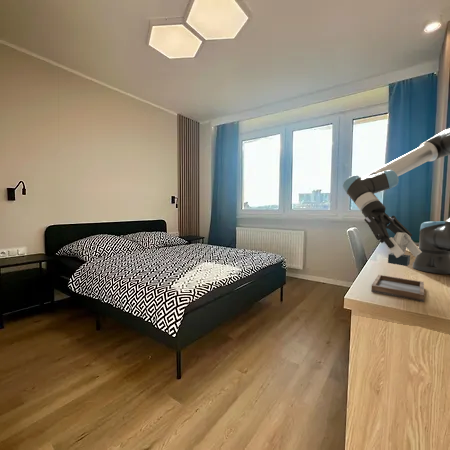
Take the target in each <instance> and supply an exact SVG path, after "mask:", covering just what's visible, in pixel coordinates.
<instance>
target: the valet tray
mask: <svg viewBox="0 0 450 450" xmlns="http://www.w3.org/2000/svg"><path fill="white" fill-rule="evenodd" d="M424 286H425V284H424V281H421V280H420V281H419V280H414V279H408V278H401V277H398V276H397V277H396V276H395V277H394V276H389V275H385V274H384V275H383V274H378V275H377V276H376V278H375V279H374V280H373V283H372V284H371V289H370V291H371V292H372V293H376V294H377V293H378V294H381V295H387V296H391V297H396V298H402V299H407V300H412V301H414V302H415V301H416V302H419V303H420V302H421V303H424V302H425V287H424Z"/></svg>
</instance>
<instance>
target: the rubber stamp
mask: <svg viewBox="0 0 450 450" xmlns="http://www.w3.org/2000/svg"><path fill="white" fill-rule="evenodd" d="M411 237H412V236H411ZM411 237H410V236H409V235H408V234H407V233H401V232H397V233H396V234H394V237H392V238H393V239H394V241H395V242H396V243H397V244H398V246H399V247H400V248H401V249H402V251H403V252H404V254H402V255H401V256H400V257H398V258H396V256H395V255H394V254H393V252H390V253H388V257H387V263H388V264H392V265H398V266H403V267H404V266H405V267H408V266H409V265H410V263H411V255H410V254H405V253H406V250H407V247H408V245H409V243H410V241H411V240H412V238H411Z"/></svg>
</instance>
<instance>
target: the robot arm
mask: <svg viewBox="0 0 450 450" xmlns="http://www.w3.org/2000/svg"><path fill="white" fill-rule="evenodd" d="M446 156H450V127H447V128H445V129H444V130H442V131H440V132H438V133H437V134H435V135H433V136H432V137H430V138H428V139H427V140H425V141H424V142H421V143H420V144H419V146H418V147H417V148H415V149H413V150H411V151H409V152H407V153H405V154H403V155H401V156H399V157H398V158H396V159H394V160H392V161H390V162H388V163H386V164H384V165H383V166H381V167H379V168H376V169H374V170H372V171H371V172H370V173H367V174H366V175H363V176H359V175H350V176H348V177H347V178H346V179H345V180H344V181H343V183H342V187H343V189H344V191H345V193H346V195H348V197H349V198H350V200H352V203H354V204H355V206H356V207H357V209H358V210H359V211H360V212H361V213H362V216H363V217H364V222H365V223H366V224H367V225H368V228H369V229H370V230H371V232H372V234H373V235H374V237H375V239H376V240H377V241H379V242H380V243H381V244H383V243H384V244H385V245H386V246H387V248H388V249H389V250H390V251H391V253H393V254H394V255H395V256H396V258H398V257H400V256H401V255H402V254H404V252H403V251H402V249H401V248H400V247H399V246H398V244H397V243H396V242H395V241H394V239H393V237H392V236H391V237H390V235H389V233H388V230H390V231H391V233H393V234H394V235H396V233H397V232H401V233H407V234H408V235H409V236H410V237H413V234H412V233H411V232H410V231H409V230H408V229H407V228H406V227H405V225H403V224H402V222H400V221H399V220H398V219H397V217H396V216H395V215H391V216H389V214H387V213H386V206H385V205H384V204H383V203H382V202H381V200H380V199H379V198H378V197H377V196H376V195H375V194H377V193H381V192H384V191H387V190H391V189H392V188H395V187H397V186H398V184H399V176H402V175H404V174H405V173H408V172H410V171H411V170H415V169H416V168H417V167H419V166H421V165H423V164H425V163H427V162H434V161H436V160H438V159H441V158H443V157H446ZM387 229H388V230H387ZM418 241H419V242H418V246H417V243H415V241H413V239H411V241H410V243H409V245H408V247H406V250H408V251H409V252H410V253H411V255H412V256H413V257H414V258H415V259H414V261H413V262H412V268H413V269H414V270H418V271H421V272H425V273H431V274H439V275H440V274H441V275H450V217H449V218H447V219H445V220H444V221H441V220H440V221H439V220H438V221H436V220H435V221H424V222H422V223H421V224H420V228H419V240H418ZM404 255H405V254H404Z"/></svg>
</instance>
